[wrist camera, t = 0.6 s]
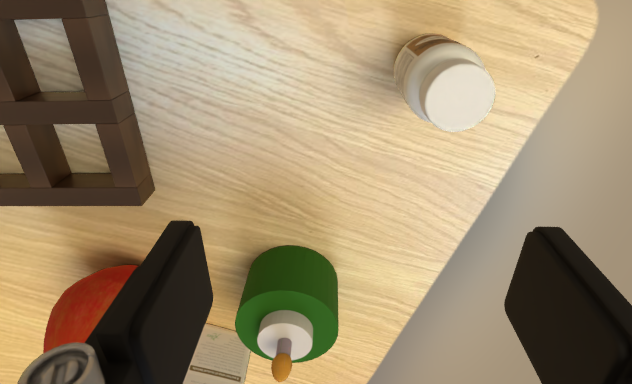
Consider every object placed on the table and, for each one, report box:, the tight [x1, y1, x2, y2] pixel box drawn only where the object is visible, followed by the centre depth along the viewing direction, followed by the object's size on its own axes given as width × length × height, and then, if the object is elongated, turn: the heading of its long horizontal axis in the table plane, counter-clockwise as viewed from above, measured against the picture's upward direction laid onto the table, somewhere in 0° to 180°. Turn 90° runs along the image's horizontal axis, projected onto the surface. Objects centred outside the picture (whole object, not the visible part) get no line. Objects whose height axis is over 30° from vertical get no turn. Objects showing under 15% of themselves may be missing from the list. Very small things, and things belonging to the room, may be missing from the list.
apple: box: [43, 265, 138, 354], centre depth 31 cm, size 8×8×11 cm
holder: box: [0, 0, 155, 206], centre depth 26 cm, size 15×15×2 cm
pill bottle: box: [394, 34, 495, 132], centre depth 22 cm, size 4×4×8 cm
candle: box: [235, 246, 338, 382], centre depth 31 cm, size 8×8×10 cm
